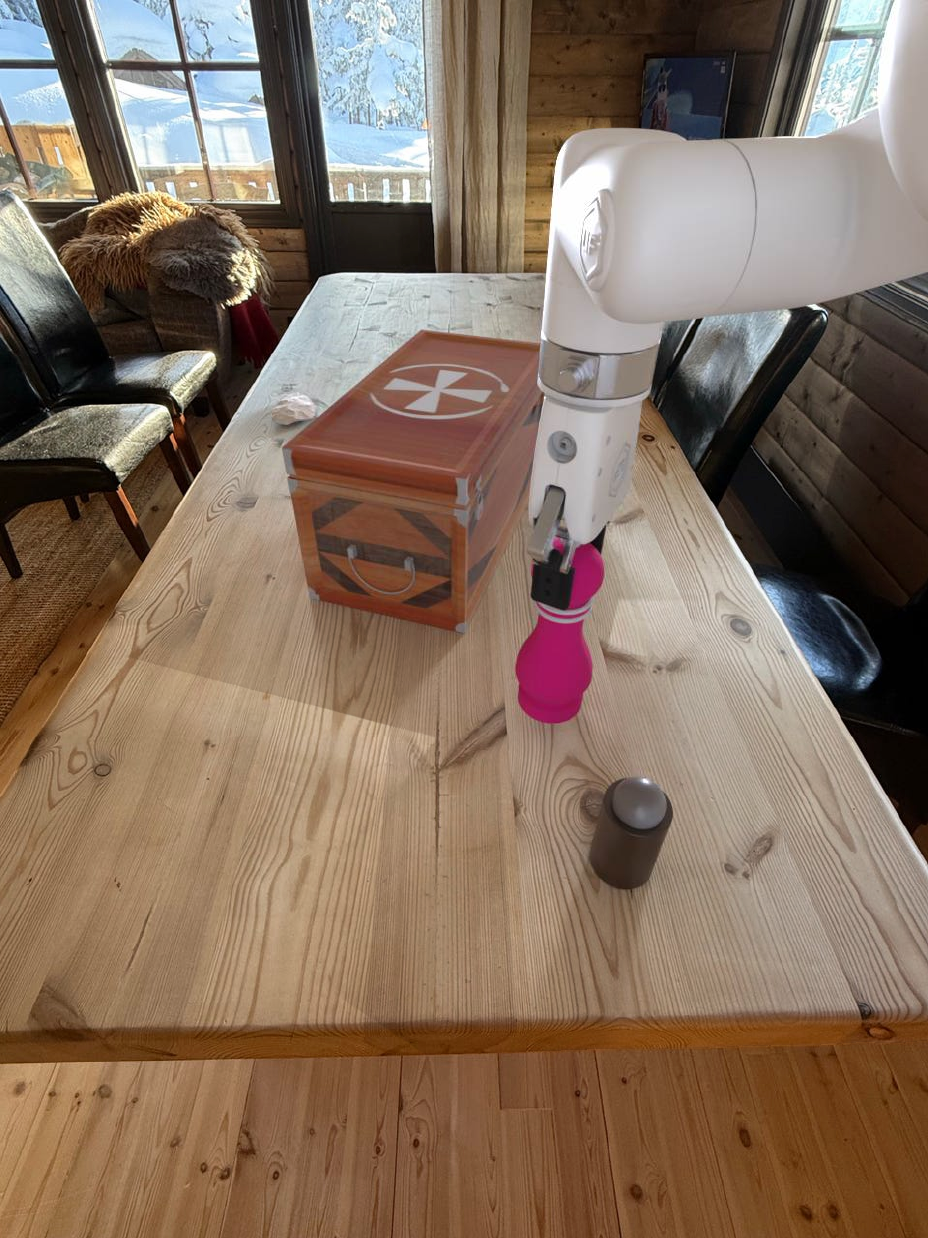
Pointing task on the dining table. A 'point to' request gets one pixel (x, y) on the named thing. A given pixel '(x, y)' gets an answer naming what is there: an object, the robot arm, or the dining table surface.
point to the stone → (293, 409)
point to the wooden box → (418, 478)
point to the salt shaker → (630, 832)
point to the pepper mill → (560, 646)
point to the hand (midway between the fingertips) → (566, 579)
